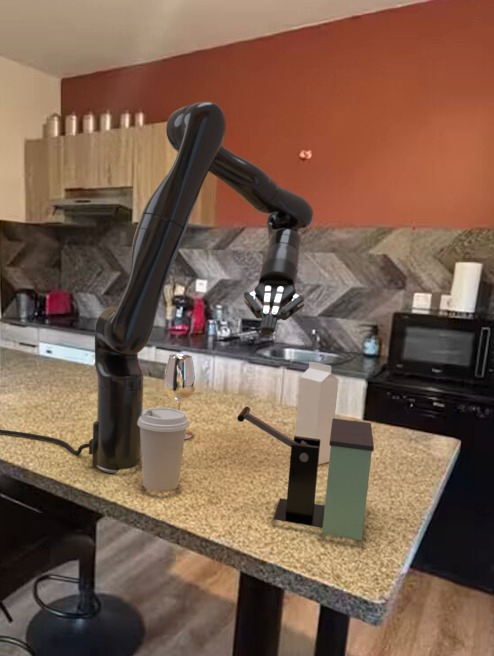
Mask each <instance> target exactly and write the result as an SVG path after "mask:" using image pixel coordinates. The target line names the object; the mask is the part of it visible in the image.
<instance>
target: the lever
mask: <svg viewBox="0 0 494 656" xmlns="http://www.w3.org/2000/svg"><path fill="white" fill-rule="evenodd" d="M250 412H251V408H250V407H249V406H244V408H243V409H242V410H241V412H240V413H239V414H238V415H237V416H236V419H237V421H238V422H240V423H243V422H244V420H245V421H248V422H250V424H251V425H253V426H256V427H257V428H259V429H261V431H264V432H265V433H266V434H268V435H270V436H271V437H273V438H275V439H277V440H278V441H280V442H281V443H283V444H285V445H286V446H288V447H289V448H291V445H292V443H297V442H295V441H294V439H292V438H290V437H289V436H287V435H285V434H284V433H282V432H281V431H279V430H277V429H276V428H274V427H273V426H271V425H269V424H268V423H266V422H264V421H263V420H261V419H260V418H258V417H257V416H255V415H253V414H252V413H250ZM297 444H299V443H297ZM300 444H305V445H310V444H308V443H306V442H305V441H303V440H302V441H301V443H300Z"/></svg>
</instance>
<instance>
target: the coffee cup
mask: <svg viewBox="0 0 494 656" xmlns="http://www.w3.org/2000/svg"><path fill="white" fill-rule="evenodd" d="M137 425H138V426H139V427H140V439H141V473H142V475H141V476H142V485H143V487H144V488H146V489H147V490H150V491H154V492H170V491H173V490H176V489H177V488H178V487H179V483H180V482H179V481H180V476H181V475H180V474H181V467H182V459H183V453H184V447H185V446H184V445H185V440H186V439H185V433H186V431H187V429H188V428H189V426H190V423H189V420H188V418H187V417H186V413H185V412H184V411H183V410H181V409H180V410H178V409H177V408H172V407H149V408H146V409H144V410H142V414H141V416H140V417H139V419H138V422H137Z"/></svg>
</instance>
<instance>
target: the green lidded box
mask: <svg viewBox="0 0 494 656" xmlns="http://www.w3.org/2000/svg"><path fill="white" fill-rule="evenodd" d="M329 445H330V446H331V448H330V458H329V462H328V470H327V479H326V480H327V481H326V491H325V500H324V506H325V510H324V520H323V528H322V530H321V535H327V536H332V537H339V538H344V539H350V540H354V541H363V536H364V535H363V534H364V528H365V527H364V526H365V516H366V507H367V498H368V490H369V482H370V481H369V480H370V472H371V462H372V453H373V452H374V450H375V449H374V448H375V444H374V437H373V429H372V423H371V422H366V421H358V420H351V419H341V418H335V419H334V418H333V419H332V427H331V435H330V444H329Z"/></svg>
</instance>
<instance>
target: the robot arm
mask: <svg viewBox="0 0 494 656" xmlns="http://www.w3.org/2000/svg"><path fill="white" fill-rule="evenodd" d="M226 130H227V121H226V115H225V113H224V111H223V109H222V108H221V107H220V106H219V104H217V103H215V102H213V101H199V102H195V103H191V104H188V105H185V106H183V107H180V108H178V109H176V110H174V111H173V112H172V113H171V114H170V116H168V119H167V121H166V126H165V133H166V137H167V140H168V143H169V145H170V146H171V147H172V148H173V150H174V151H176V152H177V155H176V157H175V160H174V162H173V164H172V166H171V168H170V170H169V171H168V173H167V174H166V175H165V177H164V179H163V180H162V181H161V182H160V184H159V185H158V186H157V187H156V189H155V190H154V192H153V193H152V195H151V196H150V197H149V199H148V200H147V202H146V203H145V205H144V208H143V210H142V212H141V215H140V218H139V221H138V224H137V225H136V229H135V231H134V236H133V238H132V245H131V256H130V272H129V277H128V280H127V283H126V287H125V290H124V291H123V294H122V296H121V299H120V301H119V304H117V305H111V306H108V307H106V308H104V309H103V310H102V311H101V312H100V313H99V315H98V317H97V319H96V322H95V325H94V326H95V327H94V367H95V372H96V376H97V407H96V408H97V410H96V411H97V412H96V414H97V415H96V420H95V421H94V422H93V424H92V438H91V439H89V440H88V443H83V444H81V445H80V446H79V447H78V449H77V450H75V449H74V448H73V447H72V446H71V445H70V444H69V443H68V442H66V441H65V440H61V439H58V438H57V437H51V436H46V435H40V434H35V433H29V432H23V431H15V430H14V431H13V430H7V429H0V434H3V435H11V436H20V437H25V438H26V437H27V438H33V439H38V440H43V441H49V442H54V443H57V444H60V445H62V446H64V447H65V448H66V450H68V451H69V452H70V453H71V454H73V455H75V456H79V455H80V454H81V453H82V451H83V450H84V449H88V455H92V459H91V461H92V465H91V467H92V468H95V469H97V470H99V471H101V472H104V473H108V474H117V473H118V472H119V471H120V470H127V469H132V468H136V467H137V466H139V465H140V464H141V463H142V457H141V439H140V427H139V426H138V425H137V422H138V419H139V417H140V416H141V414H142V412H143V411H144V410H143V409H144V406H143V404H144V372H143V371H142V368H141V366H140V362H139V357H138V356H139V353H140V352H141V351H142V350H143V349H145V347H146V346H147V344H148V342H149V341H150V339H151V336H152V332H153V330H154V329H153V328H154V325H155V320H156V316H157V312H158V309H159V305H160V301H161V298H162V294H163V291H164V288H165V286H166V283H167V281H168V278H169V276H170V274H171V271H172V268H173V266H174V262H175V260H176V257H177V255H178V252H179V250H180V247H181V245H182V242H183V240H184V237H185V234H186V232H187V228H188V225H189V222H190V219H191V217H192V213H193V211H194V208H195V206H196V204H197V200H198V198H199V195H200V193H201V189H202V188H203V185H204V182H205V180H206V178H207V176H208V173H209V174H212V175H213V176H214V177H216V178H217V179H218V180H220V181H221V182H223V183H224V184H225V185H226V186H228V187H229V188H231V189H232V190H233V191H234V192H235V193H237V194H238V195H239V196H240V197H241V198H242V199H243V200H244V201H245V202H246V203H248V205H250V206H251V207H252V208H253V209H254V210H256V211H257V212H258V213H260V214H263V215H268V216H267V218H266V220H265V221H266V224H265V225H266V228H267V229H266V230H267V236H268V244H267V249H266V252H265V254H264V257H263V261H262V264H261V269H260V275H259V278H258V279H259V280H258V284H257V285H256V286H255V288H254V290H253V291H251V292H249V291H244V292H243V302H244V304H245V305H246V306H247V308H248V309H249V310H250V312H251V313H252V315H253V316H254V317H255V319H261V321H260V331H261V333H263V336H272V334H275V332H276V328H277V323H278V321H279V320H282V321H287V320H288V319H290V318H291V317H292V316H293V315H294V314H296V313H297V312H298V311H300V310H301V309H303V307H305V295H303V294H297V290H296V288H295V287H296V282H297V276H298V272H299V262H300V259H299V257H300V252H301V245H302V238H301V235H300V233H299V232H301V231H303V230H304V229H306V228H308V227H309V226H310V225H311V224H312V223H313V221H314V210H313V207H312V205H311V204H310V203H309V202H308V200H306V199H305V198H304V197H302V196H301V195H299V194H297V193H295V192H293V191H291V190H289V189H287V188H285V187H283V186H280V185H279V184H278V183H277V182H276V181H275V180H274V179H273V178H272V177H271V176H270V175H269V174H268V173H267V172H265V171H264V170H263V169H262V168H261V167H259V166H258V165H256V164H254V163H253V162H251V161H250V160H247V159H245V158H243V157H241V156H240V155H238V154H236V153H234V152H233V151H231V150H230V149H228V148H227V147H225V146H224V145H223V143H224V139H225V135H226V132H227V131H226ZM256 299H257V300H258V301H259V303H260V304H261V305H262V306H263V308H261V306H260V304H259V303H258V302H257V301H256Z"/></svg>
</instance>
